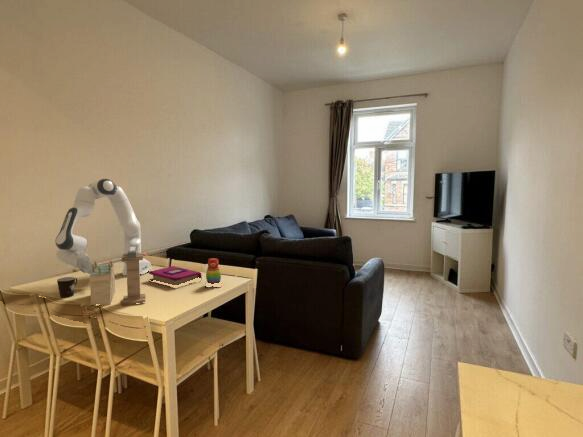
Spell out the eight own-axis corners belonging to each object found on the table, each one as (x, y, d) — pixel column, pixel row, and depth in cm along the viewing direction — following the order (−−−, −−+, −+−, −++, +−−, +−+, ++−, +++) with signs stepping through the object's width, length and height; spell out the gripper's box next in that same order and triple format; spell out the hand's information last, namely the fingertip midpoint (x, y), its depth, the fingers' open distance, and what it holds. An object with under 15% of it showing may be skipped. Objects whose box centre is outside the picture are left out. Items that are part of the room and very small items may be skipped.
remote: (130, 250, 194) (130, 244, 194) (137, 249, 195) (137, 244, 195) (127, 258, 174) (127, 252, 173) (136, 257, 175) (135, 251, 175)
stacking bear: (203, 288, 210) (203, 260, 208) (206, 283, 220) (205, 256, 218) (221, 287, 211) (221, 260, 209) (222, 283, 221) (222, 256, 219)
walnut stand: (123, 299, 187) (122, 253, 185) (145, 297, 191) (144, 252, 189) (122, 306, 177) (120, 257, 175) (144, 303, 181) (143, 256, 179)
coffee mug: (62, 299, 186) (61, 282, 185) (55, 296, 190) (54, 279, 189) (84, 294, 195) (83, 277, 194) (77, 291, 200) (76, 275, 199)
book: (174, 275, 240) (174, 264, 239) (201, 281, 225) (201, 270, 224) (148, 281, 222) (147, 270, 222) (175, 289, 207) (175, 277, 206)
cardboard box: (97, 293, 196) (96, 259, 194) (114, 292, 200) (113, 258, 198) (91, 306, 176) (89, 268, 174) (110, 304, 180) (109, 266, 177)
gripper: (76, 247, 198) (95, 254, 194) (92, 266, 213) (109, 272, 210) (68, 255, 194) (87, 262, 191) (84, 274, 209) (102, 281, 206)
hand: (99, 268), depth 200 cm, fingers open, 8 cm apart
